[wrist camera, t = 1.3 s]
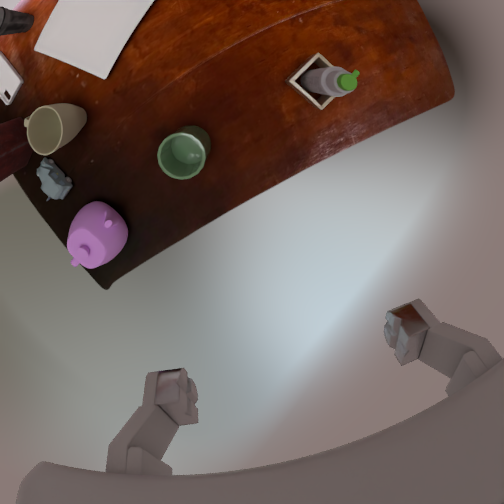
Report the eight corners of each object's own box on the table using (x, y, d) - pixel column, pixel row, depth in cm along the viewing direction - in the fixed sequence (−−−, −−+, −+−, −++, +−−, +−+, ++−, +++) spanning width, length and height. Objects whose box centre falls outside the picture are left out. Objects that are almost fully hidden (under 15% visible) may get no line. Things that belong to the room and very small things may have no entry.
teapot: (105, 263, 65) (87, 294, 55) (68, 228, 59) (44, 255, 49) (153, 216, 58) (135, 246, 48) (110, 173, 52) (83, 196, 42)
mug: (85, 85, 41) (50, 91, 31) (101, 127, 46) (69, 141, 36) (49, 111, 42) (13, 123, 33) (64, 149, 48) (31, 167, 38)
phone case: (24, 80, 37) (0, 50, 30) (20, 81, 36) (-3, 50, 29) (10, 105, 39) (-13, 74, 33) (7, 106, 38) (-16, 74, 31)
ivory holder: (310, 55, 40) (318, 52, 35) (339, 81, 43) (350, 82, 38) (284, 81, 43) (288, 81, 38) (313, 107, 46) (321, 110, 41)
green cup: (185, 117, 47) (175, 123, 40) (219, 141, 50) (215, 151, 43) (161, 150, 50) (149, 161, 43) (194, 173, 53) (186, 188, 46)
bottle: (328, 85, 43) (372, 89, 27) (309, 96, 45) (344, 106, 28) (315, 65, 41) (353, 58, 25) (295, 77, 43) (324, 75, 26)
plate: (172, -17, 31) (169, -20, 29) (109, 79, 41) (104, 80, 39) (89, -38, 23) (85, -40, 22) (38, 49, 34) (32, 50, 32)
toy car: (48, 155, 48) (36, 162, 44) (75, 183, 53) (64, 192, 48) (38, 174, 50) (26, 182, 46) (63, 201, 55) (53, 210, 51)
